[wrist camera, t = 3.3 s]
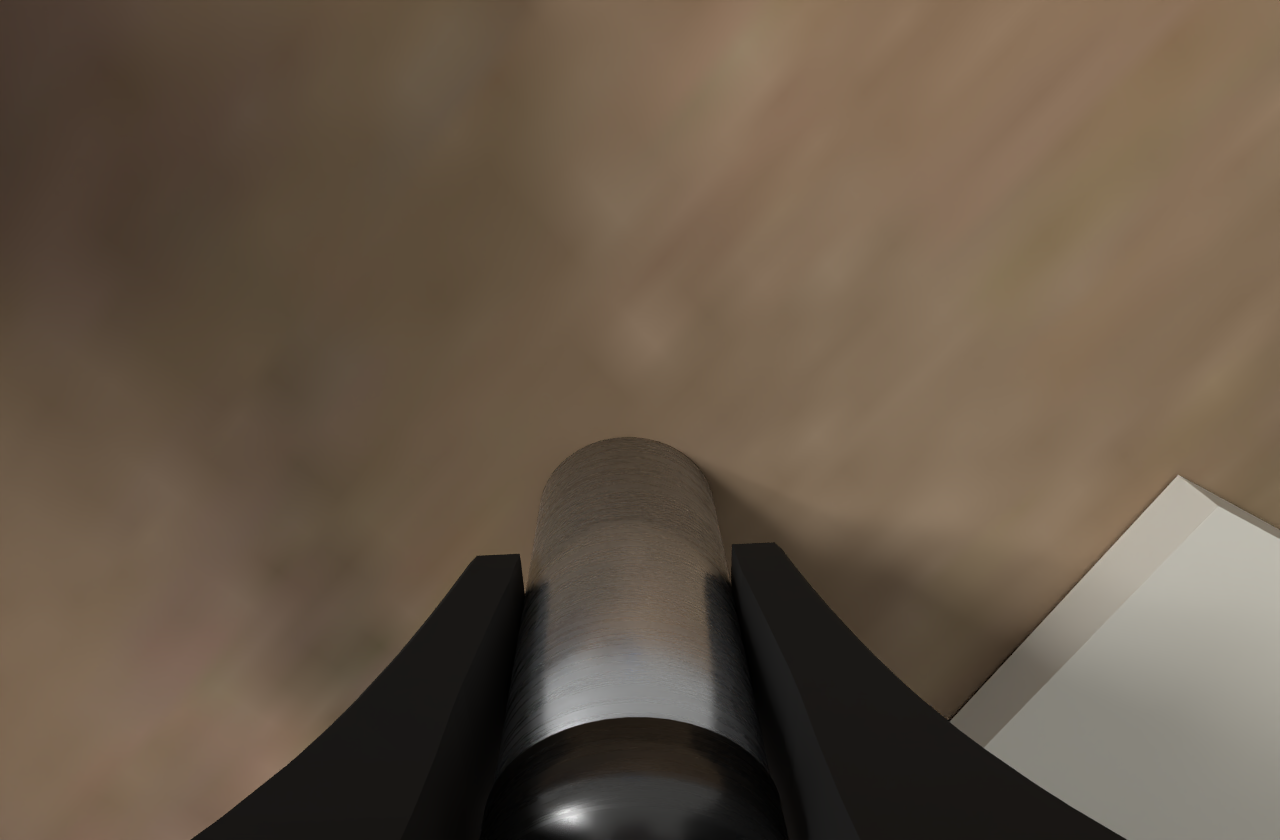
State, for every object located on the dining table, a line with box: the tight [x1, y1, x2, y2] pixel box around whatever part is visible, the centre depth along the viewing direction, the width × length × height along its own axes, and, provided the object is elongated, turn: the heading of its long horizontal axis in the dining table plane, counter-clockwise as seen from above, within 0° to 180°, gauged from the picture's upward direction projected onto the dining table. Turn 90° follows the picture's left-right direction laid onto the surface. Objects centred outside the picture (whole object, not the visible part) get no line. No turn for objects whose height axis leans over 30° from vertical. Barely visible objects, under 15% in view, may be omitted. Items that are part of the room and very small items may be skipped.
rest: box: [950, 475, 1280, 840], centre depth 16 cm, size 8×8×1 cm
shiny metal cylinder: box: [479, 437, 789, 840], centre depth 11 cm, size 3×3×7 cm
